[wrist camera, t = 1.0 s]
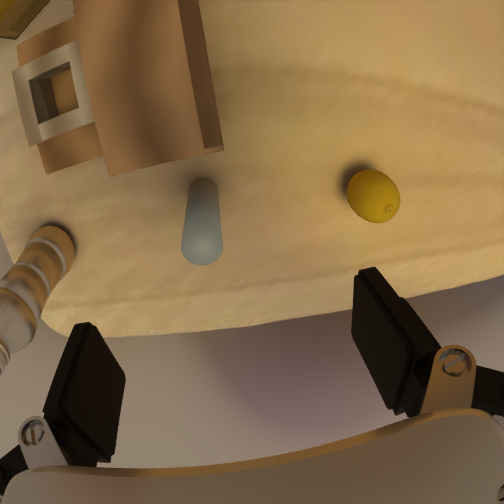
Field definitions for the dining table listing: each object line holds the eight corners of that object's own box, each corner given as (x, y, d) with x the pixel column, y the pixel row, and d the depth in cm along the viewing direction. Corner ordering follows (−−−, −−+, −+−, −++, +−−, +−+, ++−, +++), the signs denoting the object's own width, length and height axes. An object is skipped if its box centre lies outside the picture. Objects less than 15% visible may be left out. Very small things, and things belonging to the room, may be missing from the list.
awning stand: (194, -19, 22) (189, -55, 14) (219, 129, 31) (224, 150, 22) (21, 43, 21) (-32, 42, 13) (52, 174, 30) (9, 210, 22)
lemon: (381, 163, 35) (418, 187, 28) (372, 205, 38) (404, 235, 31) (341, 158, 34) (372, 182, 27) (333, 203, 37) (360, 234, 30)
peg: (186, 181, 33) (176, 233, 23) (215, 175, 34) (218, 225, 23) (192, 208, 35) (186, 268, 25) (220, 202, 35) (226, 261, 25)
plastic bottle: (42, 264, 36) (-22, 379, 19) (32, 218, 33) (-54, 327, 16) (83, 266, 37) (28, 392, 20) (75, 218, 34) (-3, 339, 17)
